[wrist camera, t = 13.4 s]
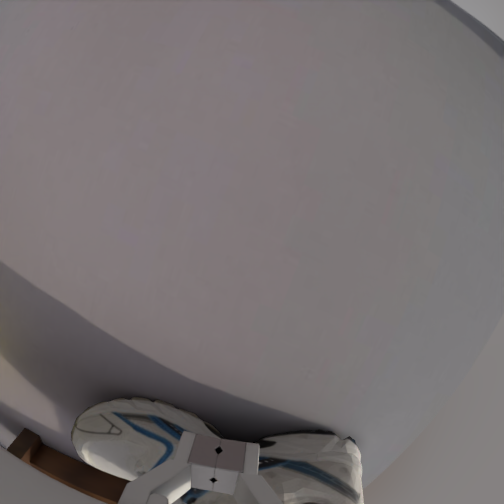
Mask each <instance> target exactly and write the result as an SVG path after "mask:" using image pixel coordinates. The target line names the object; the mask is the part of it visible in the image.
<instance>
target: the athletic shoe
mask: <svg viewBox="0 0 504 504" xmlns="http://www.w3.org/2000/svg"><path fill="white" fill-rule="evenodd" d="M184 431H188V432H192V433H196V434H201V435H205V436H210V437H215V438H220V439H221V438H222V439H225V438H223V437H222V435H221V434H220V433H219V431H218V430H217V429H216V428H215V427H214V426H213V425H211V424H209V423H207V422H205V421H202V420H200V419H199V418H198V416H197V415H196V414H194V413H191V412H187V411H185V410H183V409H176V408H175V407H174V406H173V405H172V404H168V403H165V402H162V401H160V400H158V399H157V400H156V401H154V402H151V401H150V400H149V399H146V398H140V397H132V398H131V399H130V400H126V399H124V398H118V399H114V400H112V401H110V402H105V401H104V402H100V403H98V404H96V405H94V406H91V407H88V408H87V409H86V410H85V411H84V412H83V413H82V414H81V415H80V416H78V417H77V419H76V422H75V424H74V427H73V429H72V432H71V438H72V443H73V445H74V447H75V449H76V451H77V453H78V455H79V457H80V458H81V459H83V460H84V461H85V462H86V463H87V464H89V465H91V466H93V467H95V468H97V469H100V470H102V471H104V472H107V473H109V474H112V475H115V476H117V477H120V478H124V479H127V480H130V481H133V480H134V479H136V478H138V477H140V476H141V475H143V474H145V473H147V472H148V471H150V470H152V469H154V468H155V467H157V466H159V465H160V464H162V463H164V462H165V461H167V460H168V459H174V456H175V453H176V450H177V447H178V444H179V441H180V438H181V436H182V433H183V432H184ZM256 444H259V445H260V449H259V465H258V475H262V476H263V478H264V479H265V481H266V482H267V483H268V485H269V486H270V487H271V489H272V490H273V491H274V492H275V494H276V495H277V496H278V498H279V499H280V500H281V501H282V503H283V504H364V501H363V491H362V483H361V476H362V465H361V463H360V459H361V453H360V451H359V449H358V447H357V445H356V443H355V440H354V439H352V438H351V437H350V436H349V437H347V438H345V439H343V440H341V439H339V438H338V437H337V435H336V434H335V433H333V432H331V431H322V430H317V431H315V432H313V431H295V432H288V433H286V434H277V435H272V436H268V437H265V438H262V439H260V440H259V441H257V442H256ZM172 504H238V503H237V502H236V500H235V498H234V496H233V495H231V494H225V493H220V492H214V491H209V490H203V489H197V488H192V487H191V489H189V490H188V491H187V492H186V493H184V494H183V495H182V496H181V497H180V498H178V499H177V500H176V501H174V502H173V503H172Z"/></svg>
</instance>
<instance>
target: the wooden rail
mask: <svg viewBox="0 0 504 504" xmlns="http://www.w3.org/2000/svg"><path fill="white" fill-rule="evenodd" d="M7 451H8V452H10V453H11V454H13V455H14V456H16V457H17V458H19V459H21V460H22V461H24V462H25V463H27V464H29V465H30V466H32V467H34V468H35V469H37V470H39V471H40V472H42V473H44V474H46V475H48V476H49V477H51V478H53V479H55V480H57V481H59V482H61V483H63V484H65V485H67V486H69V487H71V488H73V489H75V490H77V491H79V492H82V493H84V494H86V495H88V496H91V497H93V498H95V499H98V500H100V501H103V502H105V503H108V504H118V502H119V500H120V498H121V495H122V493H123V491H124V489H125V487H126V484H127V483H129V482H131V481H130V480H127V479H124V478H120V477H117V476H115V475H112V474H109V473H107V472H104V471H101V470H99V469H96V468H94V467H91V466H89V465H86V464H84V463H82V462H79V461H77V460H75V459H73V458H70V457H68V456H66V455H64V454H62V453H60V452H58V451H56V450H54V449H52V448H50V447H48V446H46V445H44V444H43V443H42V441H41V439H40V437H39V435H37V434H35V433H33V432H31V431H29V430H28V429H26V428H24V430H23V431H22V432H21V433H20V434H19V435H18V437H17V438H16V439H15V440H14V441H13V443H12V444H11V445H10V446H9V447H8V449H7Z"/></svg>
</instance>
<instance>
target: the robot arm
mask: <svg viewBox="0 0 504 504" xmlns="http://www.w3.org/2000/svg"><path fill="white" fill-rule="evenodd" d="M259 449H260V445H259V444H256V443H248V442H242V441H235V440H228V439H222V438H221V439H220V438H215V437H210V436H205V435H201V434H196V433H192V432H188V431H184V432H183V433H182V436H181V438H180V441H179V444H178V447H177V450H176V453H175V456H174V459H168V460H167V461H165V462H164V463H162V464H160V465H159V466H157V467H155V468H154V469H152V470H150V471H148V472H147V473H145V474H143V475H141V476H140V477H138V478H136V479H134V480H133V481H131V482H129V483H127V484H126V487H125V489H124V491H123V493H122V495H121V498H120V500H119V502H118V504H172V503H173V502H174V501H176V500H177V499H178V498H180V497H181V496H182V495H183V494H184V493H186V492H187V491H188V490H189V489H191V487H192V488H197V489H203V490H209V491H214V492H220V493H225V494H231V495H233V496H234V498H235V500H236V502H237V503H238V504H283V503H282V501H281V500H280V499H279V498H278V496H277V495H276V494H275V492H274V491H273V490H272V489H271V487H270V486H269V485H268V483H267V482H266V481H265V479H264V478H263V476H262V475H258V465H259ZM0 504H108V503H105V502H103V501H100V500H98V499H95V498H93V497H91V496H88V495H86V494H84V493H82V492H79V491H77V490H75V489H73V488H71V487H69V486H67V485H65V484H63V483H61V482H59V481H57V480H55V479H53V478H51V477H49V476H48V475H46V474H44V473H42V472H40V471H39V470H37V469H35V468H34V467H32V466H30V465H29V464H27V463H25V462H24V461H22V460H21V459H19V458H17V457H16V456H14V455H13V454H11V453H10V452H8V451H7V450H5V449H4V448H2V447H1V446H0Z"/></svg>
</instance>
